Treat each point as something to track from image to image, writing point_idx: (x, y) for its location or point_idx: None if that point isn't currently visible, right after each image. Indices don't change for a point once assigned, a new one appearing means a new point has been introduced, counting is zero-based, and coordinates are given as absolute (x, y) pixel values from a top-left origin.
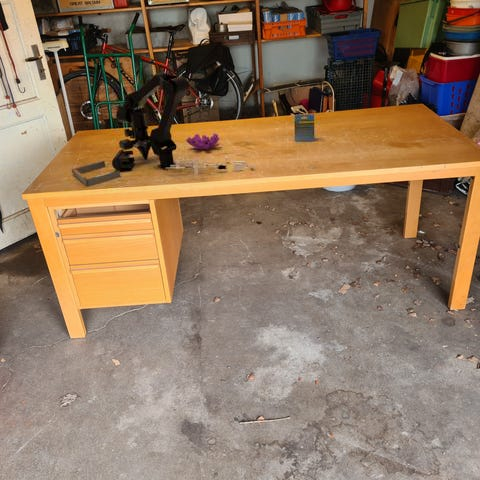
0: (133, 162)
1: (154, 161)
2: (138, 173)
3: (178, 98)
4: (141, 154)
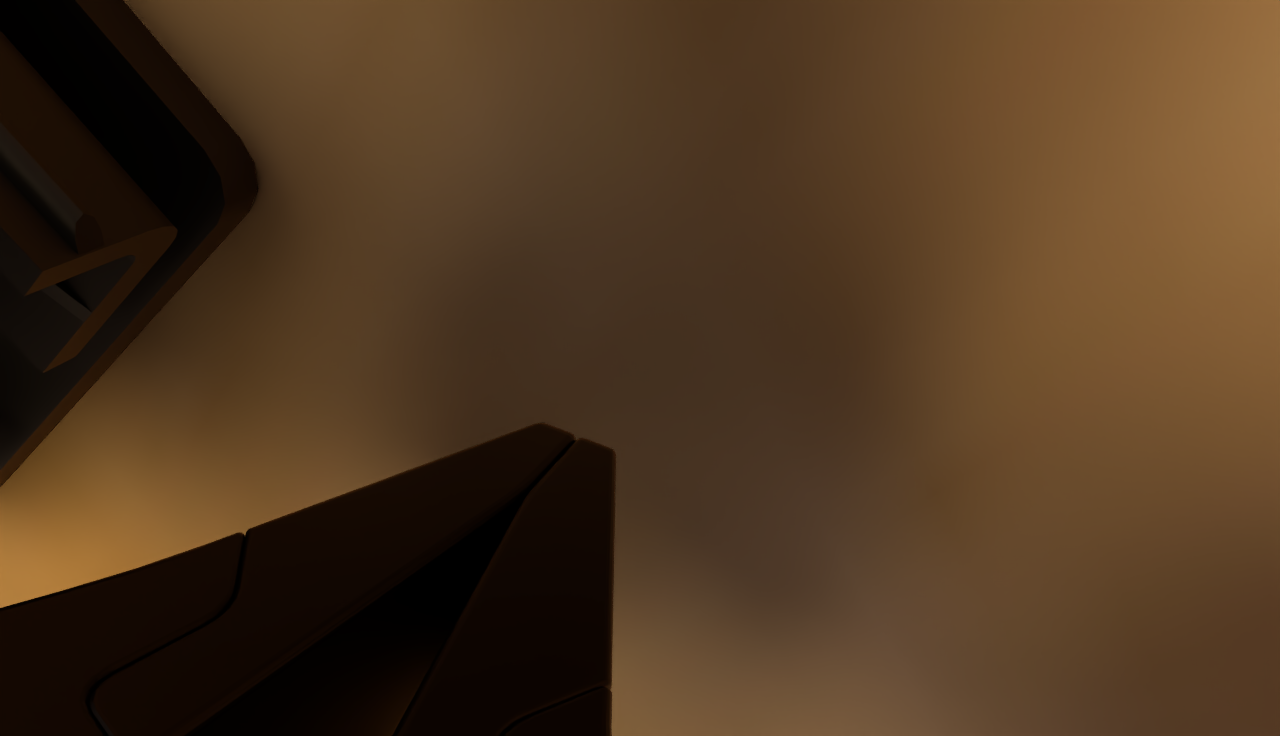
0: (76, 343)
1: (803, 654)
2: None
3: None
4: (335, 526)
